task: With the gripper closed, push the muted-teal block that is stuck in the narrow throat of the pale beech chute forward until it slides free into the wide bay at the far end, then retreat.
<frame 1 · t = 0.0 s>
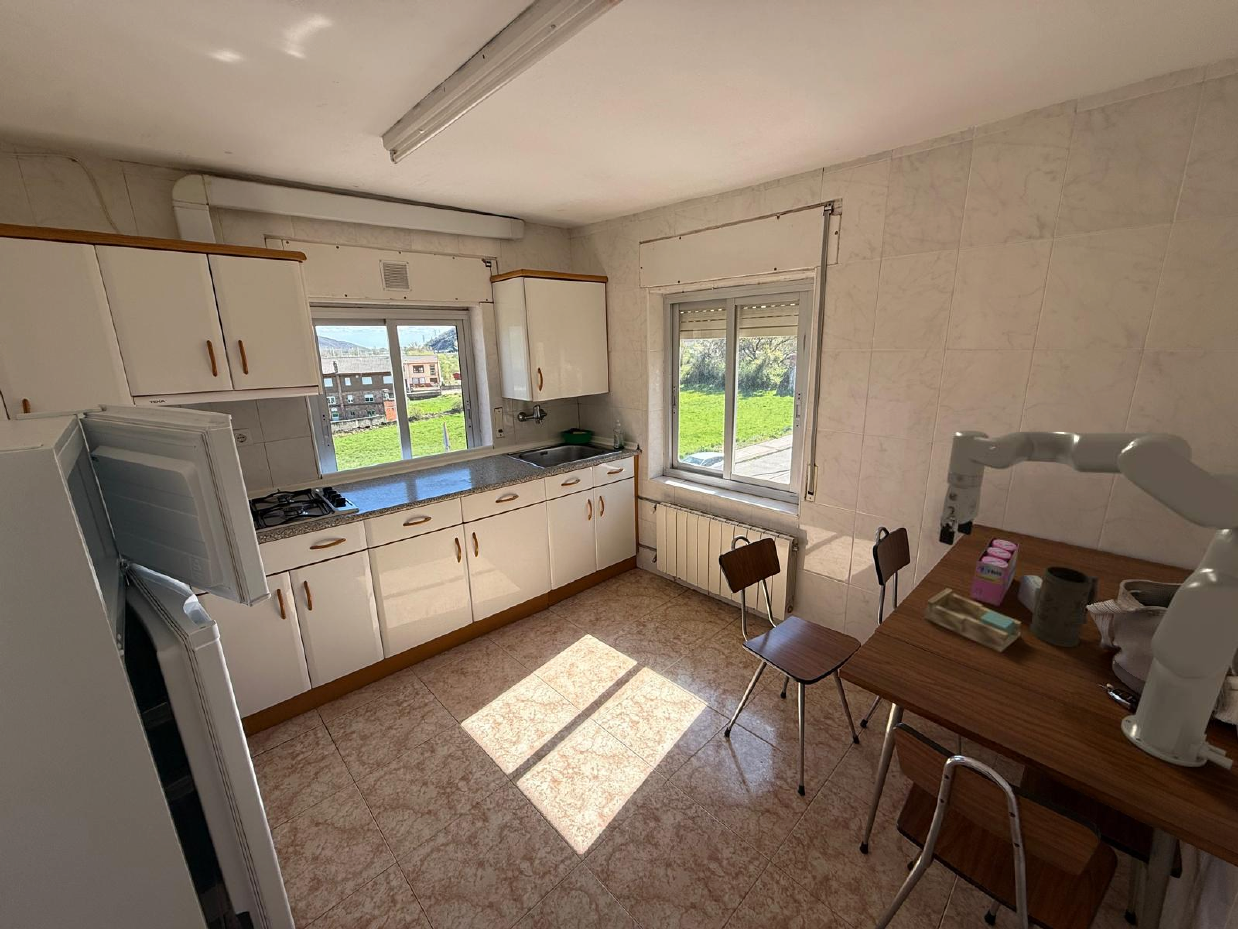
hand: (954, 538, 134), 31 cm above the table, fingers open, 9 cm apart
block: (995, 626, 140), point 4 cm above the table, slide at 0.0 cm
beer stein: (1059, 634, 141), on the table
medicine box: (1031, 606, 155), on the table
gum box: (992, 588, 165), on the table
chute: (970, 626, 146), on the table
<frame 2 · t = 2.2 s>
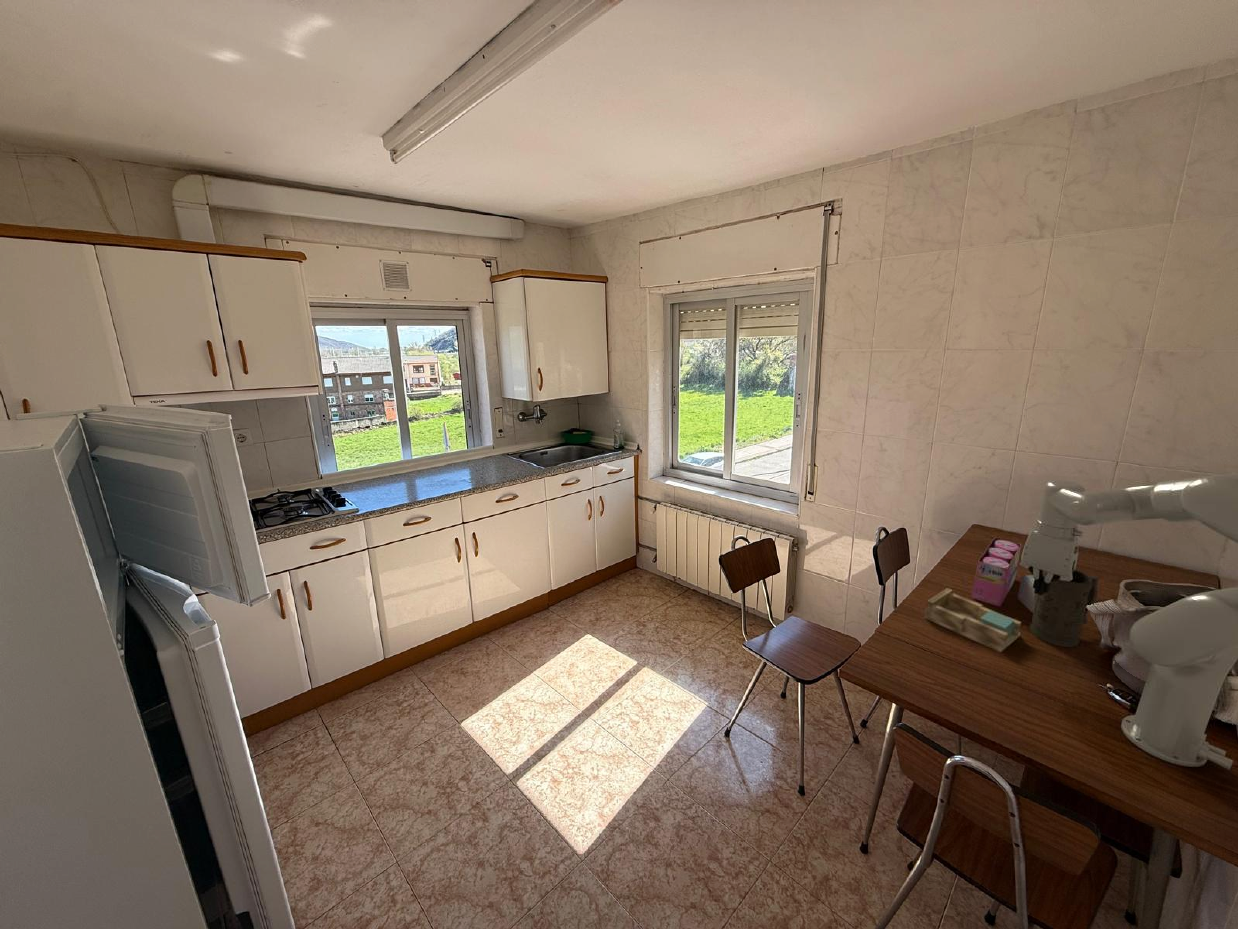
hand: (1040, 592, 130), 18 cm above the table, fingers closed
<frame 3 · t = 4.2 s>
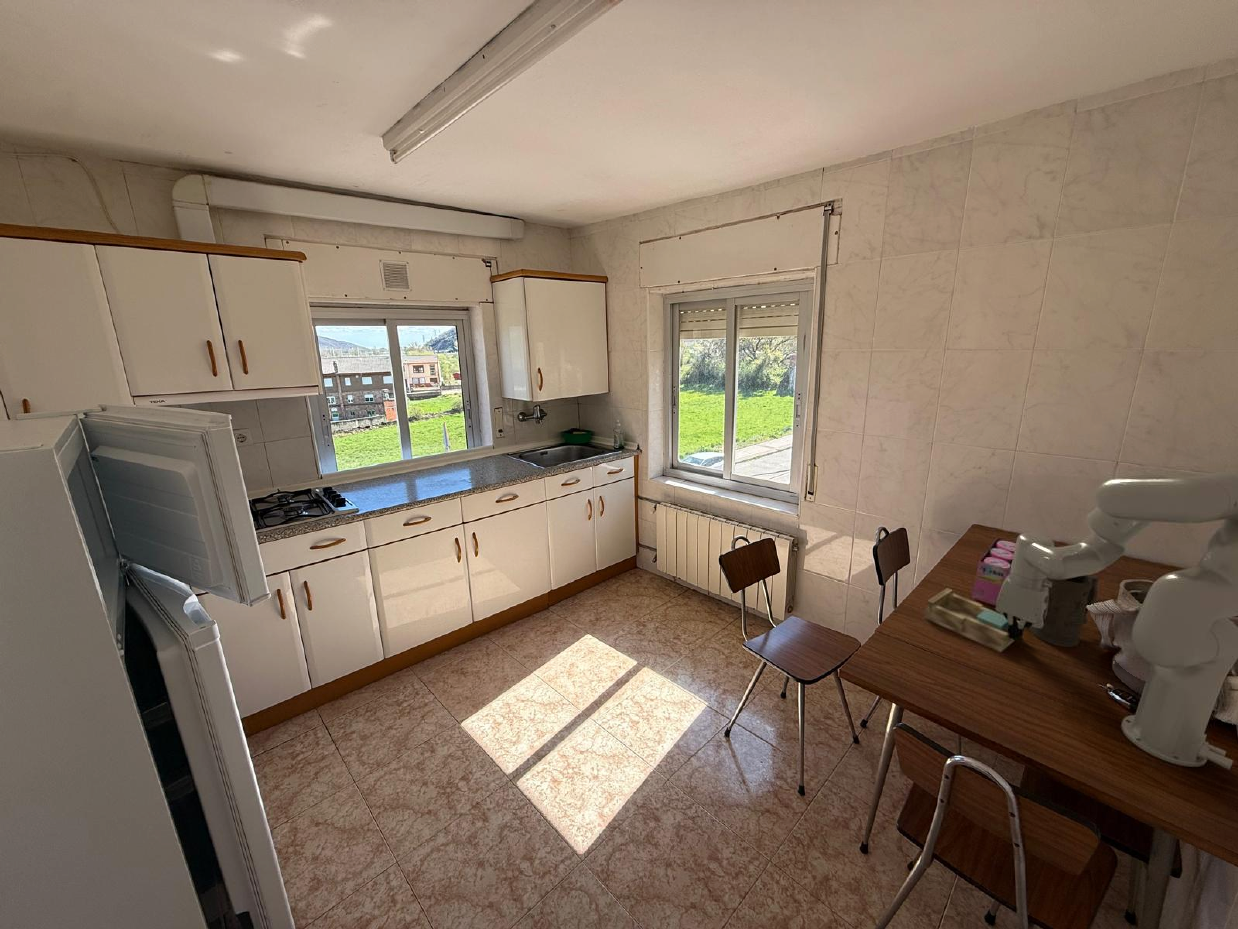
hand: (1014, 637, 137), 3 cm above the table, fingers closed
block: (992, 624, 141), point 3 cm above the table, slide at 0.9 cm, touching gripper
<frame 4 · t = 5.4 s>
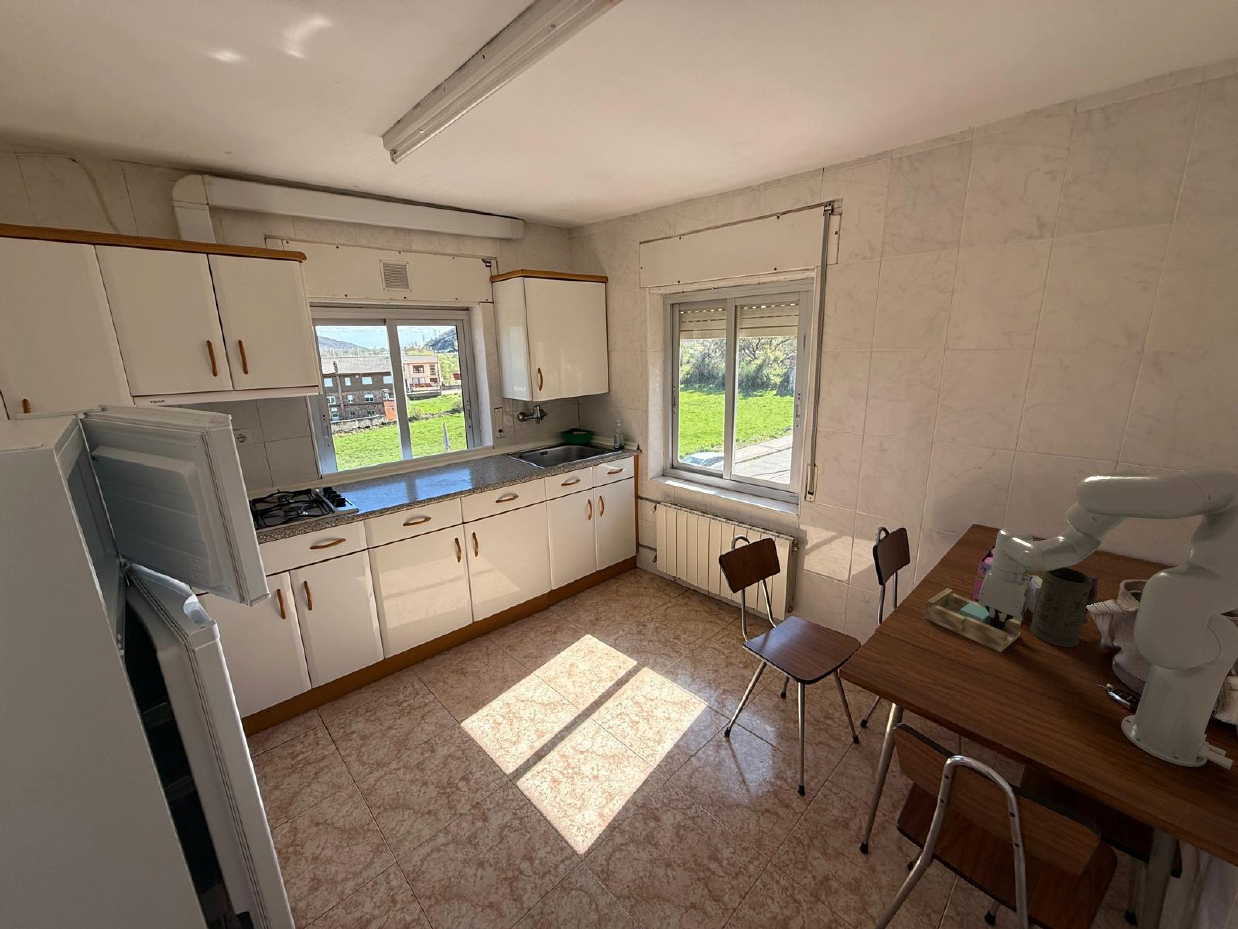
hand: (996, 629, 141), 2 cm above the table, fingers closed
block: (975, 617, 145), point 3 cm above the table, slide at 5.2 cm, touching gripper
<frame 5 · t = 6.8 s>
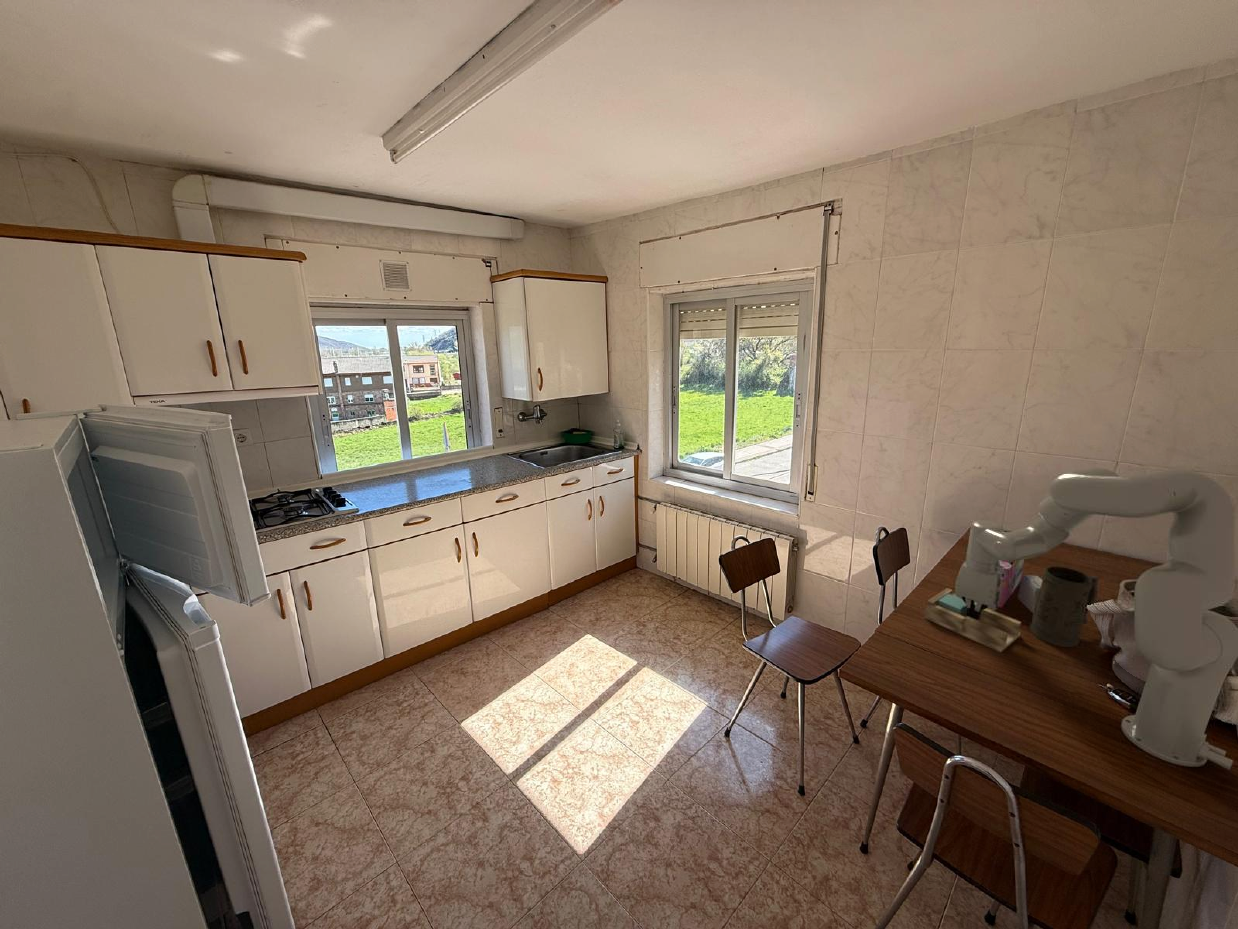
hand: (972, 619, 146), 2 cm above the table, fingers closed
block: (952, 608, 150), point 3 cm above the table, slide at 11.2 cm, touching gripper
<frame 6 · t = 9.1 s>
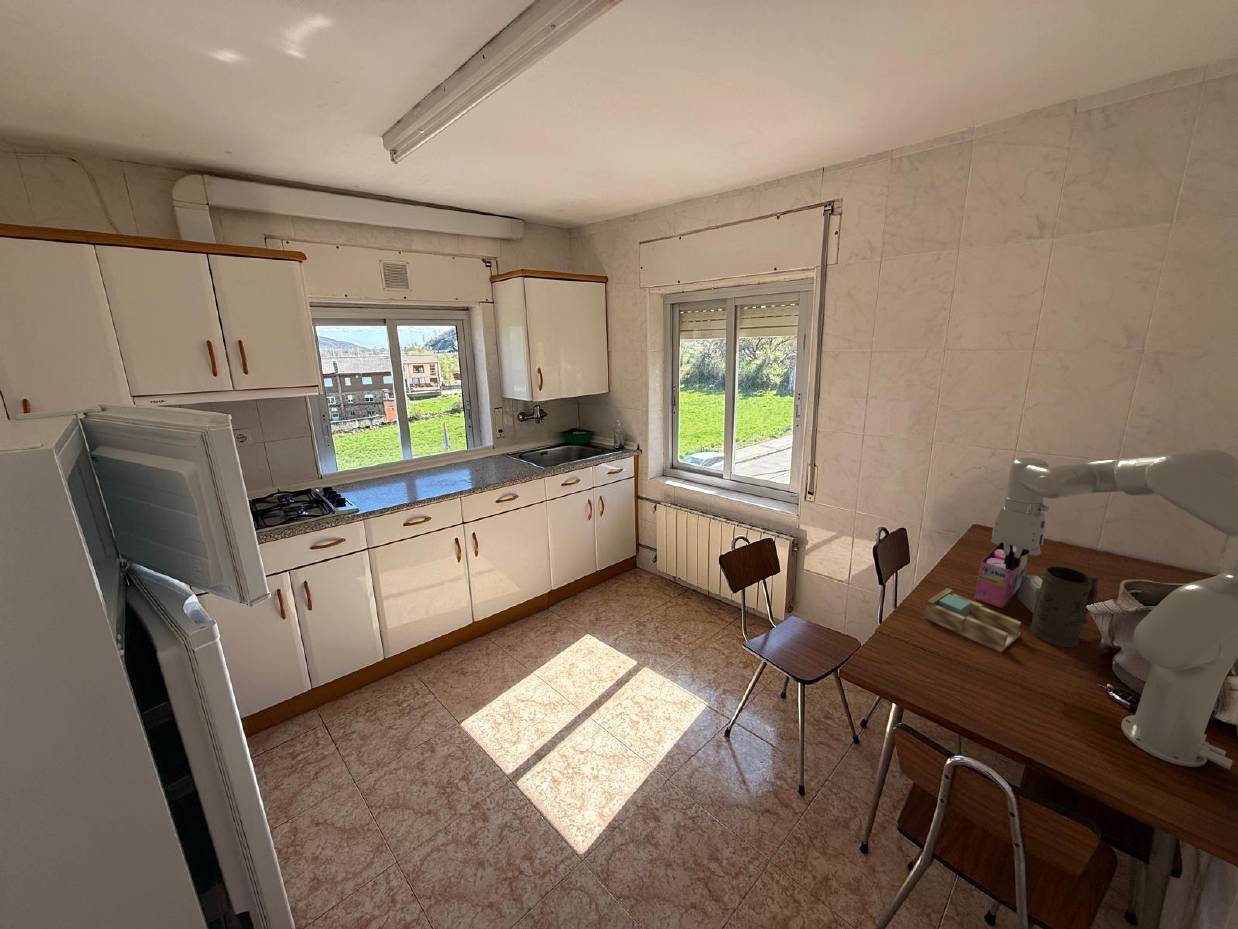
hand: (1010, 568, 134), 22 cm above the table, fingers closed
block: (953, 608, 149), point 3 cm above the table, slide at 11.0 cm
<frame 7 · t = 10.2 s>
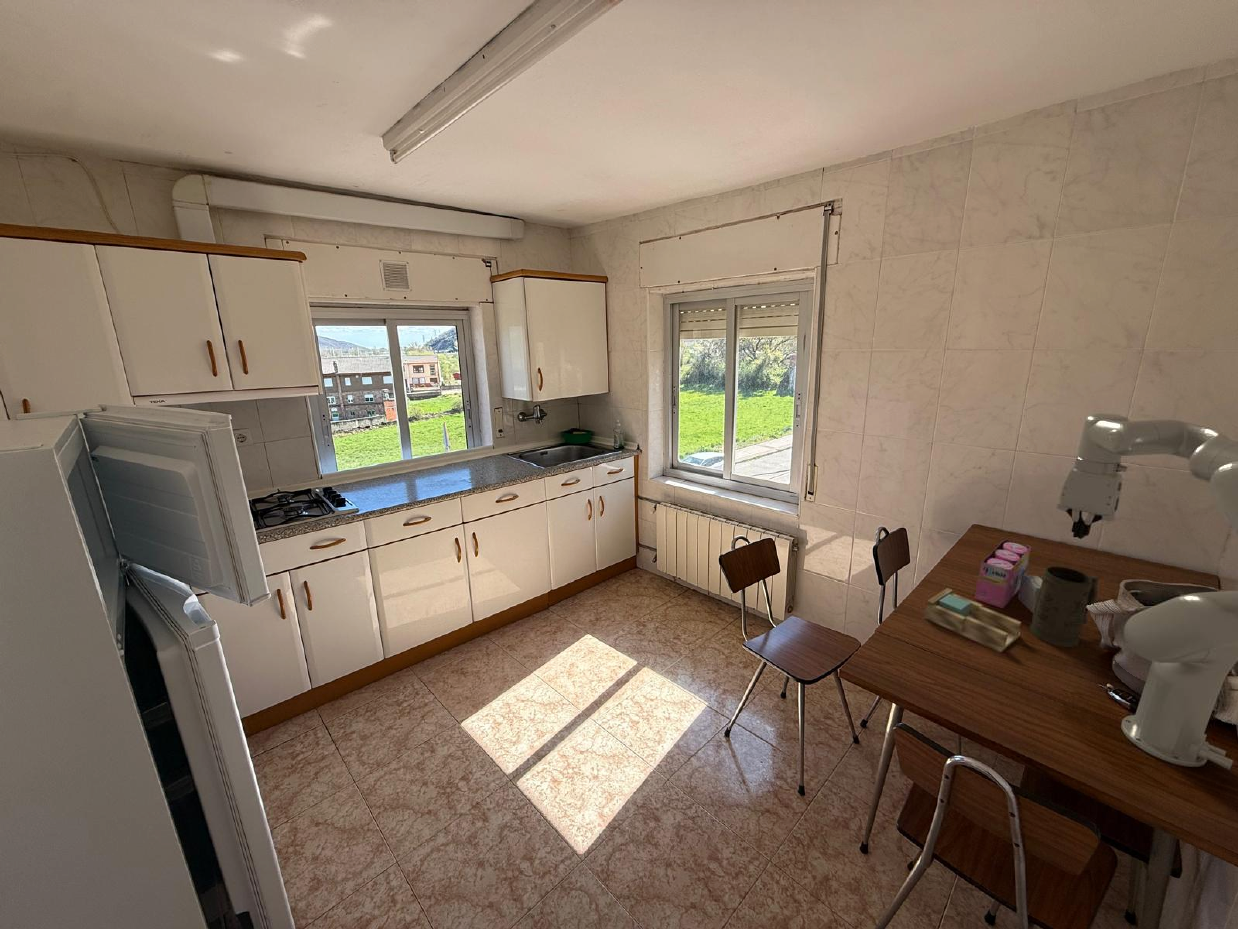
hand: (1079, 536, 123), 35 cm above the table, fingers closed
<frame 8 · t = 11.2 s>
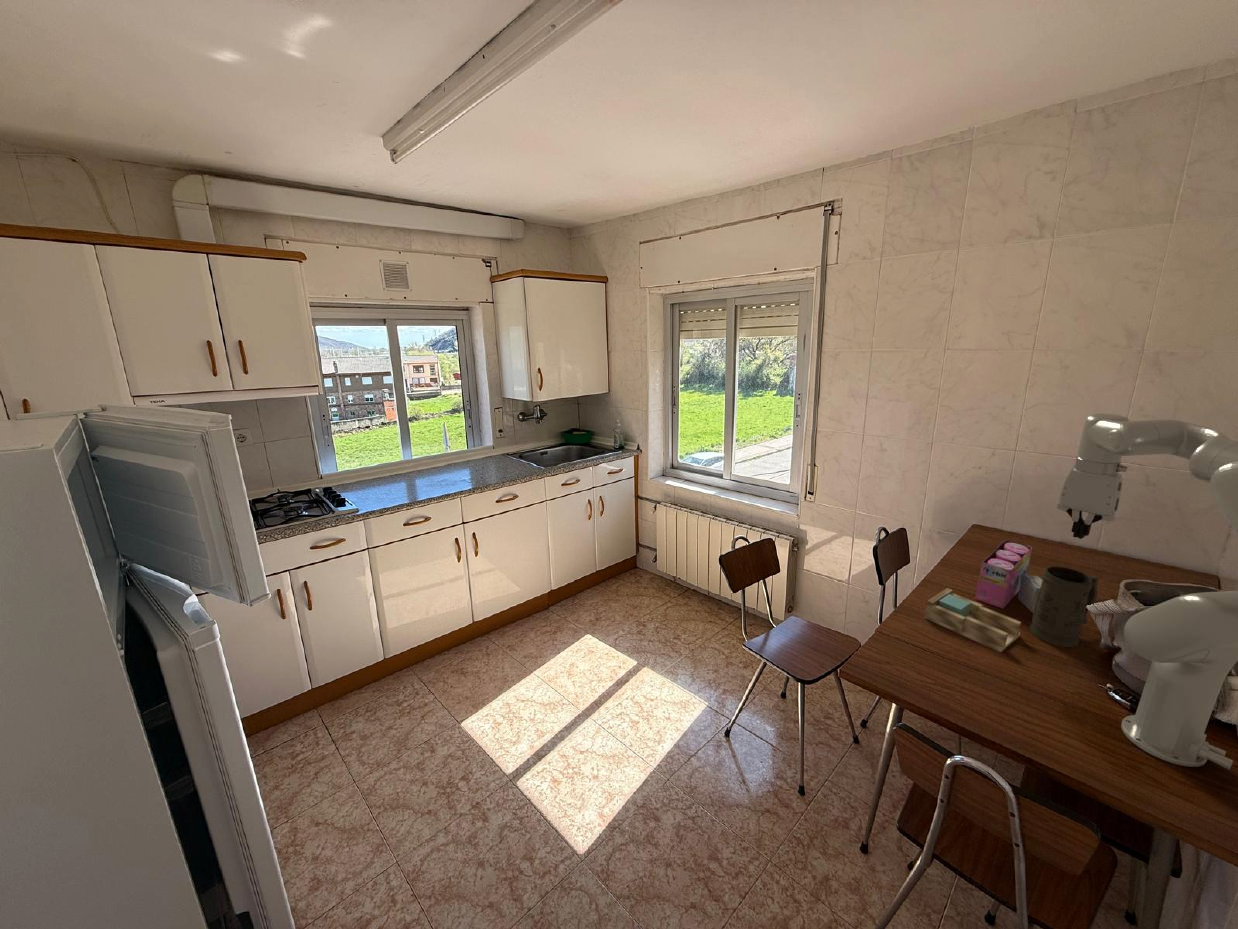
hand: (1079, 536, 123), 35 cm above the table, fingers closed
at the end: block slide at 11.0 cm; the gripper is holding nothing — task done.
